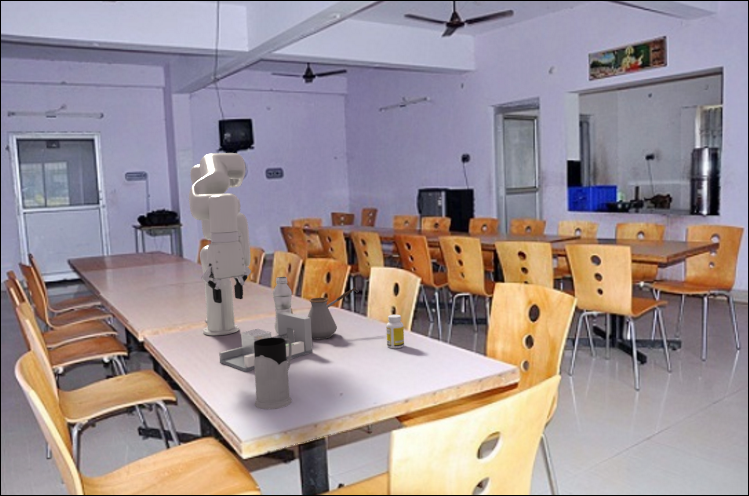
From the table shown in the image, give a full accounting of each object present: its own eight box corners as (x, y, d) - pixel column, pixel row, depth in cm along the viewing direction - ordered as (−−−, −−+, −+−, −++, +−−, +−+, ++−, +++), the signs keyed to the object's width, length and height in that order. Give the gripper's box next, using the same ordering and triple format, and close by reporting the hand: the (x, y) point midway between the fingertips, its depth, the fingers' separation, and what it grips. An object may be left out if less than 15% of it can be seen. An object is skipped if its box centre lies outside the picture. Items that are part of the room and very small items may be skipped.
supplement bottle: (406, 344, 191) (405, 314, 190) (400, 349, 186) (399, 318, 185) (391, 343, 193) (390, 313, 192) (384, 348, 188) (383, 317, 187)
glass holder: (247, 407, 143) (243, 345, 141) (277, 387, 156) (274, 330, 154) (280, 410, 139) (276, 347, 138) (308, 390, 153) (305, 332, 151)
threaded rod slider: (242, 355, 181) (241, 332, 180) (280, 345, 191) (279, 323, 190) (263, 362, 173) (261, 338, 172) (301, 351, 183) (300, 328, 182)
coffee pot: (313, 342, 197) (311, 297, 196) (297, 336, 207) (295, 293, 205) (367, 331, 209) (366, 289, 207) (350, 325, 219) (348, 285, 217)
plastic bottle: (290, 336, 206) (287, 279, 203) (272, 336, 207) (268, 279, 205) (297, 332, 212) (294, 276, 210) (278, 331, 213) (275, 276, 211)
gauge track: (219, 362, 179) (217, 326, 178) (285, 344, 196) (283, 311, 195) (245, 371, 169) (243, 333, 168) (312, 352, 186) (310, 317, 185)
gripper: (243, 235, 179) (247, 294, 181) (190, 240, 167) (194, 304, 169) (257, 236, 174) (261, 297, 176) (203, 241, 162) (207, 307, 164)
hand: (228, 299), depth 173 cm, fingers open, 6 cm apart
